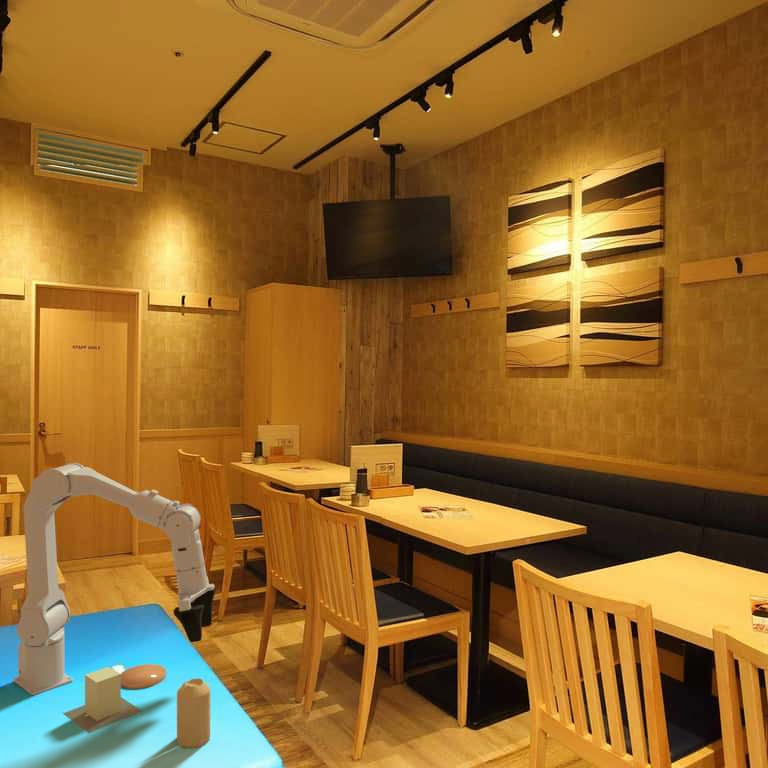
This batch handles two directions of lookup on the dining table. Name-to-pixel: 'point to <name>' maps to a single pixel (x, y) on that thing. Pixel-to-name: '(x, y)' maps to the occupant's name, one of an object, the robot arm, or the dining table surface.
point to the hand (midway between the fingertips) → (201, 633)
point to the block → (102, 693)
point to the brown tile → (92, 725)
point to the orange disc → (143, 676)
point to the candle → (193, 714)
